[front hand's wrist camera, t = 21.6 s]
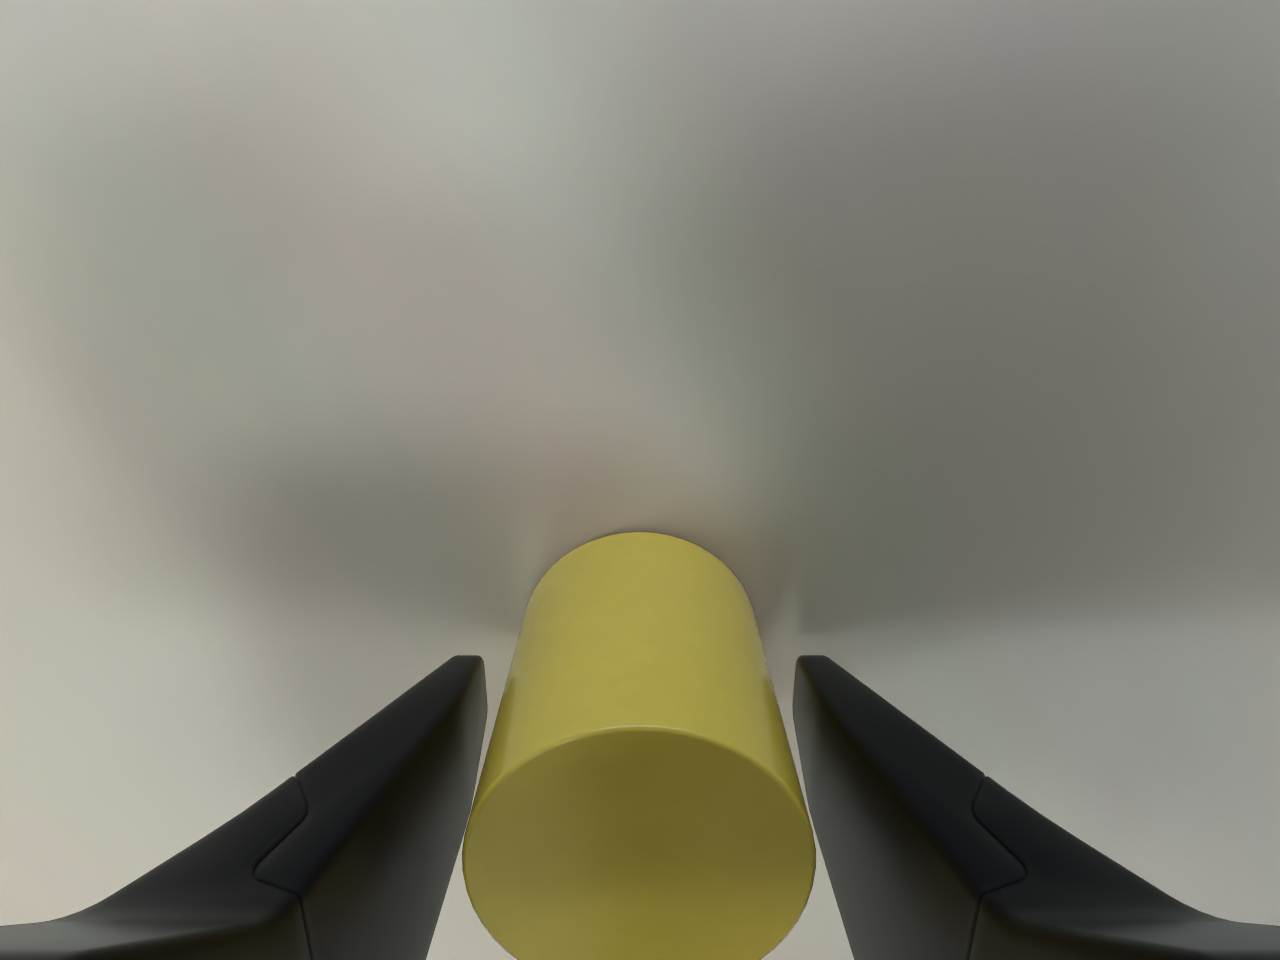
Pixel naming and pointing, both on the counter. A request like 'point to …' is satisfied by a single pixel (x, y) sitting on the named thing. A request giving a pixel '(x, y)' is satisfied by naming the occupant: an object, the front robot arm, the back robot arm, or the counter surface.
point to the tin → (639, 769)
